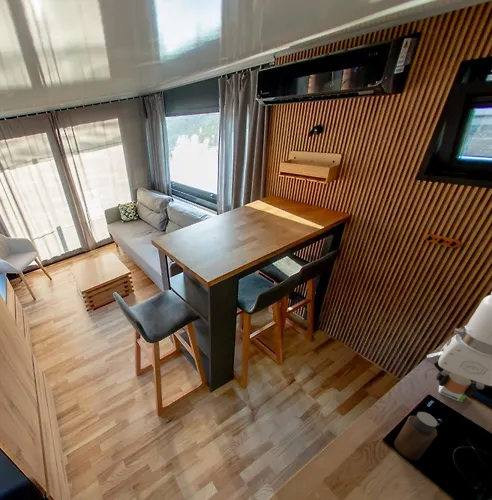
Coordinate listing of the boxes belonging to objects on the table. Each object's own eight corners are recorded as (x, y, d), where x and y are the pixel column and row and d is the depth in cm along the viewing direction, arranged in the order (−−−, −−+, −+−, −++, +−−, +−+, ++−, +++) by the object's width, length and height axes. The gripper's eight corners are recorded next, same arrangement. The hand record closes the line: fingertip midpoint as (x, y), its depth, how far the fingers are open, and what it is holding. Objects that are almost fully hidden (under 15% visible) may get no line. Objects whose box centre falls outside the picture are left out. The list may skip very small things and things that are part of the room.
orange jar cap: (464, 386, 69) (470, 377, 67) (465, 397, 67) (472, 388, 65) (442, 377, 72) (448, 368, 70) (442, 388, 70) (448, 379, 68)
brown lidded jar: (420, 447, 82) (437, 424, 75) (419, 465, 78) (437, 442, 72) (394, 434, 86) (408, 411, 79) (393, 450, 82) (407, 427, 75)
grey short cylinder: (432, 425, 75) (437, 417, 73) (432, 436, 73) (437, 429, 71) (413, 416, 78) (417, 408, 76) (412, 427, 75) (417, 420, 74)
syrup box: (438, 393, 94) (454, 368, 87) (438, 381, 98) (454, 356, 91) (461, 403, 90) (480, 377, 84) (461, 391, 94) (479, 365, 87)
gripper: (434, 334, 64) (409, 379, 73) (552, 371, 53) (506, 418, 62) (434, 317, 68) (411, 361, 77) (543, 347, 57) (501, 395, 66)
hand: (453, 386), depth 69 cm, fingers closed on orange jar cap, 4 cm apart
